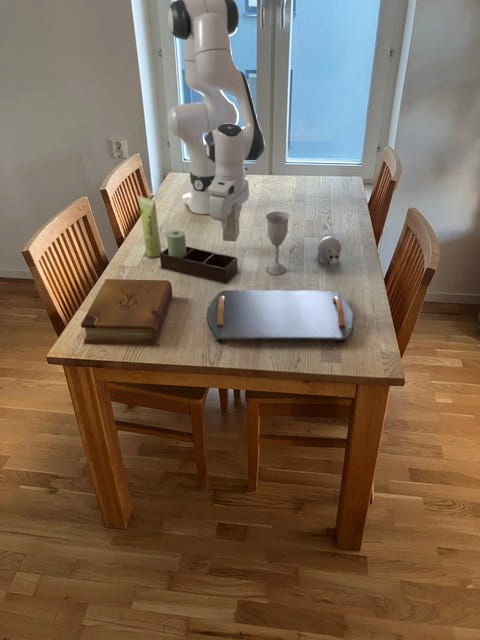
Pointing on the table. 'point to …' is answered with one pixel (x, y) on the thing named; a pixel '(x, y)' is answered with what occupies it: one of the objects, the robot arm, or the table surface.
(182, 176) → the table surface
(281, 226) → the chalice
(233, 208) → the cosmetic box
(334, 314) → the serving tray
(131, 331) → the diary
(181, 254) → the towel roll
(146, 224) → the tube
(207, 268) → the rack
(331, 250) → the round bodied animal figurine
